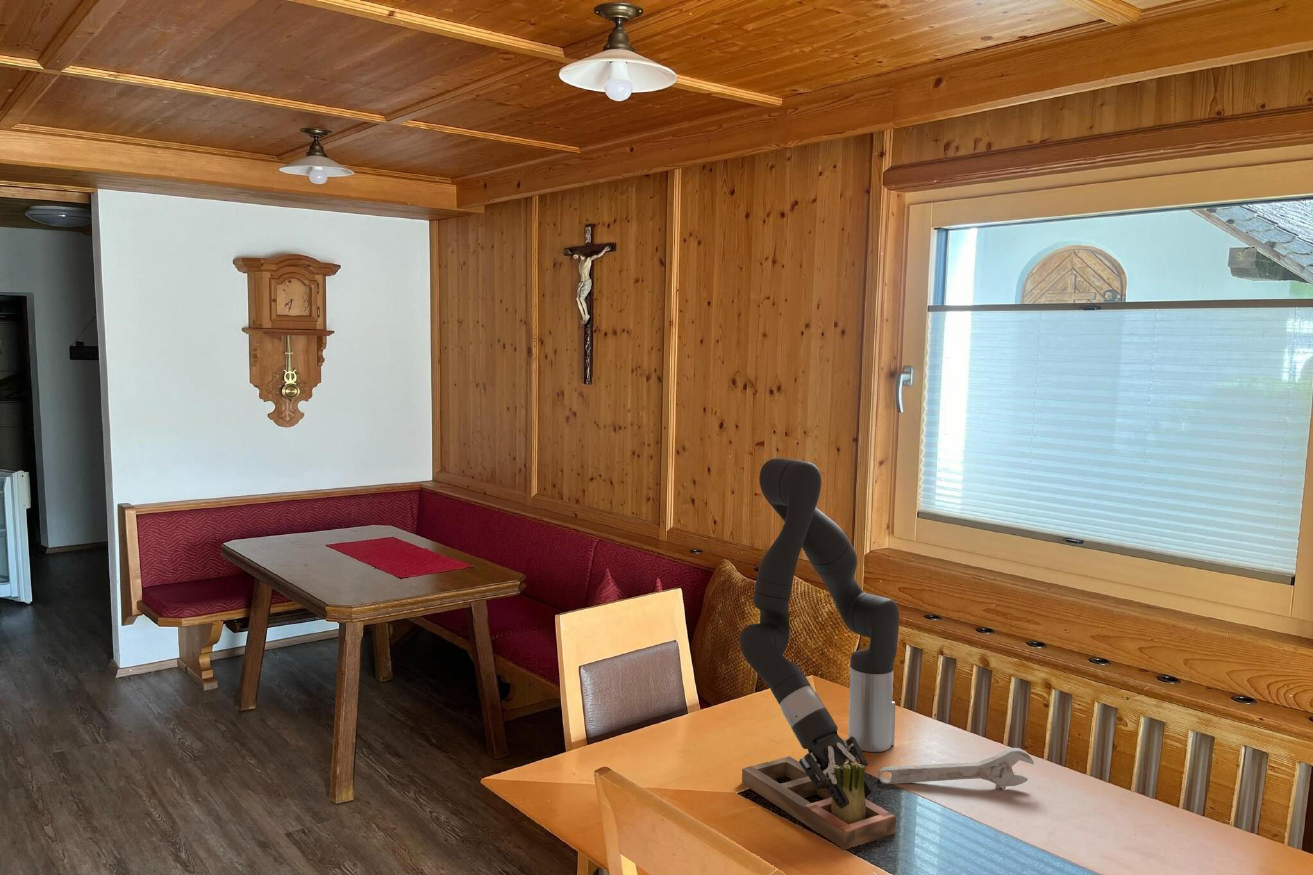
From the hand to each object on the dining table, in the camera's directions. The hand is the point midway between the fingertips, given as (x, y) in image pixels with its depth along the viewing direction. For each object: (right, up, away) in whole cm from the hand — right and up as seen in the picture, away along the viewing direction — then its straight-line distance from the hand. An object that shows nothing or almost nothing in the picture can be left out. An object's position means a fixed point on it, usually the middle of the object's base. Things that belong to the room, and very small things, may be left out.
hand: (857, 800), depth 169 cm
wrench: (+23, -5, +20) cm, 31 cm away
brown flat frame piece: (-6, -5, +10) cm, 13 cm away
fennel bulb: (-1, -6, +2) cm, 6 cm away
